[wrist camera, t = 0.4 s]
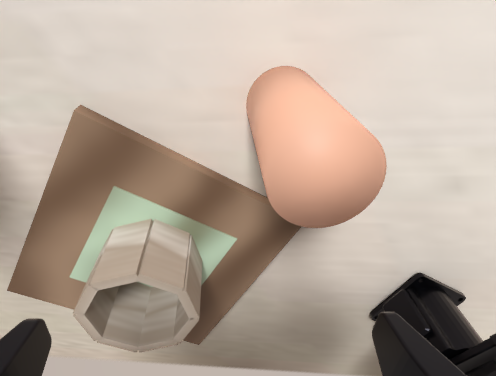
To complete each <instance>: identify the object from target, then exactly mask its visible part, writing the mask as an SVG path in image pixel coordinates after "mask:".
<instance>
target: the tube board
mask: <svg viewBox="0 0 496 376" xmlns="http://www.w3.org/2000/svg"><path fill="white" fill-rule="evenodd" d="M301 227H302V226H298V225H295V224H293V223H290V222H288V221H287V220H285V219H284V218H282V217H281V216H280V215H279V214H278V213H277V212H276V211H275V210H274V209H273V207H272V206H271V204H270V202H269V199H268V198H267V197H265V196H263V195H261V194H259V193H257V192H255V191H253V190H251V189H249V188H247V187H245V186H243V185H241V184H239V183H237V182H235V181H233V180H231V179H229V178H227V177H225V176H223V175H221V174H219V173H217V172H215V171H213V170H211V169H209V168H207V167H205V166H203V165H201V164H199V163H196V162H194V161H192V160H190V159H188V158H186V157H184V156H182V155H180V154H178V153H176V152H174V151H172V150H170V149H168V148H166V147H164V146H162V145H160V144H158V143H156V142H154V141H152V140H150V139H148V138H146V137H144V136H142V135H140V134H138V133H136V132H134V131H132V130H130V129H128V128H126V127H124V126H122V125H120V124H118V123H116V122H114V121H112V120H110V119H108V118H106V117H104V116H102V115H100V114H98V113H96V112H94V111H92V110H90V109H88V108H86V107H84V106H82V105H80V106H79V107H78V108H76V109H75V110H74V112H73V115H72V117H71V120H70V123H69V126H68V128H67V131H66V134H65V136H64V139H63V142H62V144H61V147H60V150H59V152H58V155H57V158H56V160H55V163H54V166H53V169H52V171H51V174H50V177H49V179H48V182H47V185H46V187H45V190H44V193H43V195H42V198H41V201H40V203H39V206H38V209H37V212H36V214H35V217H34V220H33V222H32V225H31V228H30V230H29V233H28V236H27V238H26V241H25V244H24V246H23V249H22V252H21V255H20V257H19V260H18V263H17V265H16V268H15V271H14V273H13V276H12V279H11V281H10V284H9V287H8V289H7V291H10V292H14V293H18V294H21V295H25V296H28V297H32V298H35V299H39V300H42V301H46V302H49V303H53V304H56V305H60V306H64V307H67V308H71V309H74V311H73V313H74V315H73V316H74V317H75V318H76V320H77V321H78V322H79V323H80V324H81V326H82V327H83V328H84V329H85V330H86V332H87V333H88V334H89V335H90V336H91V338H92V339H93V340H94V341H96V340H97V343H101V344H105V345H109V346H113V347H117V348H121V349H125V350H129V351H133V352H137V351H139V352H145V351H149V350H154V349H159V348H164V347H168V346H173V345H178V343H181V342H182V340H184V341H187V342H191V343H194V344H198V345H199V344H200V343H201V342H202V340H203V339H204V338H205V337H206V336H207V335H208V334H209V332H210V331H211V330H212V329H213V328H214V327H215V326H216V324H217V323H218V322H219V321H220V320H221V319H222V317H223V316H224V315H225V314H226V313H227V312H228V311H229V309H230V308H231V307H232V306H233V305H234V304H235V302H236V301H237V300H238V299H239V298H240V297H241V296H242V294H243V293H244V292H245V291H246V290H247V289H248V288H249V286H250V285H251V284H252V283H253V282H254V281H255V279H256V278H257V277H258V276H259V275H260V274H261V273H262V271H263V270H264V269H265V268H266V267H267V266H268V264H269V263H270V262H271V261H272V260H273V259H274V258H275V256H276V255H277V254H278V253H279V252H280V251H281V250H282V248H283V247H284V246H285V245H286V244H287V243H288V241H289V240H290V239H291V238H292V237H293V236H294V235H295V233H296V232H297V231H298V230H299V229H300V228H301Z"/></svg>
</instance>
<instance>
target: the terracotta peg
mask: <svg viewBox="0 0 496 376" xmlns="http://www.w3.org/2000/svg"><path fill="white" fill-rule="evenodd" d="M246 109H247V114H248V119H249V123H250V127H251V131H252V135H253V139H254V143H255V147H256V152H257V156H258V160H259V164H260V168H261V172H262V176H263V180H264V185H265V189H266V193H267V196H268V199H269V202H270V204H271V206H272V207H273V209H274V210H275V211H276V212H277V213H278V214H279V215H280V216H281V217H282V218H284V219H285V220H287V221H288V222H290V223H293V224H295V225H298V226H302V227H308V228H323V227H329V226H334V225H337V224H340V223H343V222H345V221H347V220H349V219H351V218H353V217H354V216H356V215H358V214H359V213H360V212H362V211H363V210H364V209H365V208H366V207H367V206H368V205H369V204H370V203H371V202H372V201H373V200H374V199H375V197H376V196H377V194H378V193H379V191H380V189H381V187H382V184H383V182H384V179H385V174H386V157H385V153H384V150H383V148H382V146H381V144H380V143H379V141H378V140H377V139H376V138H375V136H374V135H373V134H372V133H370V132H369V131H368V130H367V129H366V128H365V127H364V126H363V125H362V124H361V123H360V122H359V121H358V120H357V119H355V118H354V117H353V116H352V115H351V114H350V113H349V112H348V111H347V110H346V109H345V108H344V107H343V106H341V105H340V104H339V103H338V102H337V101H336V100H335V99H334V98H333V97H332V96H331V95H330V94H329V93H328V92H326V91H325V90H324V89H323V88H322V87H321V86H320V85H319V84H318V83H317V82H316V81H315V80H314V79H313V78H311V77H310V76H309V75H308V74H307V73H306V72H304V71H303V70H301V69H298V68H295V67H291V66H281V67H276V68H273V69H270V70H268V71H266V72H265V73H263V74H262V75H261V76H260V77H258V78H257V80H256V81H255V82H254V83H253V85H252V87H251V88H250V90H249V93H248V97H247V103H246Z"/></svg>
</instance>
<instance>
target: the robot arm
mask: <svg viewBox="0 0 496 376" xmlns="http://www.w3.org/2000/svg"><path fill="white" fill-rule="evenodd" d="M465 299H466V297H465V296H464V295H463V294H462V293H461V292H459V291H457V290H455V289H453V288H451V287H449V286H447V285H445V284H443V283H441V282H439V281H437V280H435V279H433V278H431V277H429V276H427V275H425V274H423V273H418V274H416V275H415V276H413V277H412V278H411V279H410V280H409V281H408V282H406V283H405V284H404V285H403V286H402V287H400V288H399V289H398V290H397V291H396V292H395V293H393V294H392V295H391V296H390V297H389V298H387V299H386V300H385V301H384V302H383V303H382V304H380V305H379V306H378V307H377V308H376V309H374V310H373V311H372V312H371V313H370V316H371V318H372V320H374V321H376V322H375V325H374V327H373V330H372V337H373V341H374V345H375V349H376V353H377V356H378V360H379V364H380V367H381V371H382V375H383V376H496V334H494V335H492V336H490V338H489V339H487V340H485V341H483V340H482V339H481V338H480V336H479V335H478V334H477V332H476V331H475V330H474V328H473V327H472V326H471V325H470V323H469V322H468V321H467V319H466V318H465V317H464V315H463V314H462V313H461V311H460V310H459V309H458V307H457V306H458V305H459V304H461V303H462V302H463V301H464V300H465ZM50 348H51V336H50V333H49V331H48V329H47V326H46V324H45V321H44V320H43V319H26V320H24V321H22V322H21V323H19V324H18V325H17V326H16V327H15V328H13V329H12V330H11V331H10V332H9V333H7V334H6V335H5V336H4V337H3V338H1V339H0V376H42V373H43V370H44V367H45V364H46V360H47V357H48V354H49V351H50Z"/></svg>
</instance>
